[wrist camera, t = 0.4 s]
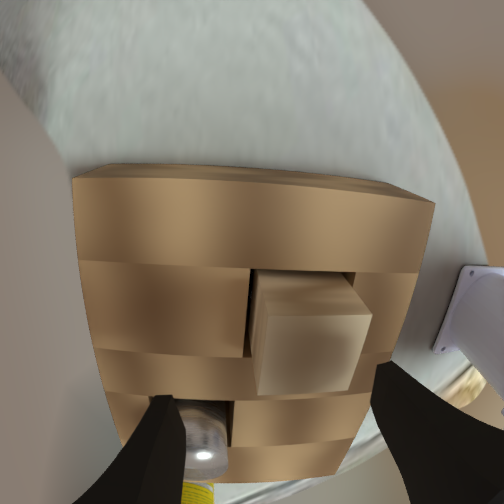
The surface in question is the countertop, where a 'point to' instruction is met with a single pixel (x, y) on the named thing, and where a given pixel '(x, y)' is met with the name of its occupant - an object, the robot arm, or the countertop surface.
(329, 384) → the peg maple
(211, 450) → the peg steel
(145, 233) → the oak block
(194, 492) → the supplement bottle
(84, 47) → the countertop surface
